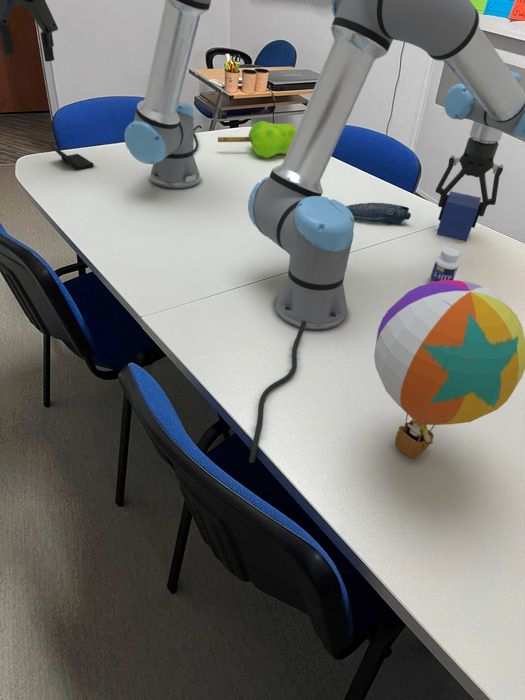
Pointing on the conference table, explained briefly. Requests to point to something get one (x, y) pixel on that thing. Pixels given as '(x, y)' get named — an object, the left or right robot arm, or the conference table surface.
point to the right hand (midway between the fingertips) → (456, 222)
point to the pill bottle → (445, 265)
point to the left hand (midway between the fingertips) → (29, 57)
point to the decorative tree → (267, 138)
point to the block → (458, 216)
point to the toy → (448, 357)
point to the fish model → (379, 212)
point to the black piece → (74, 160)
